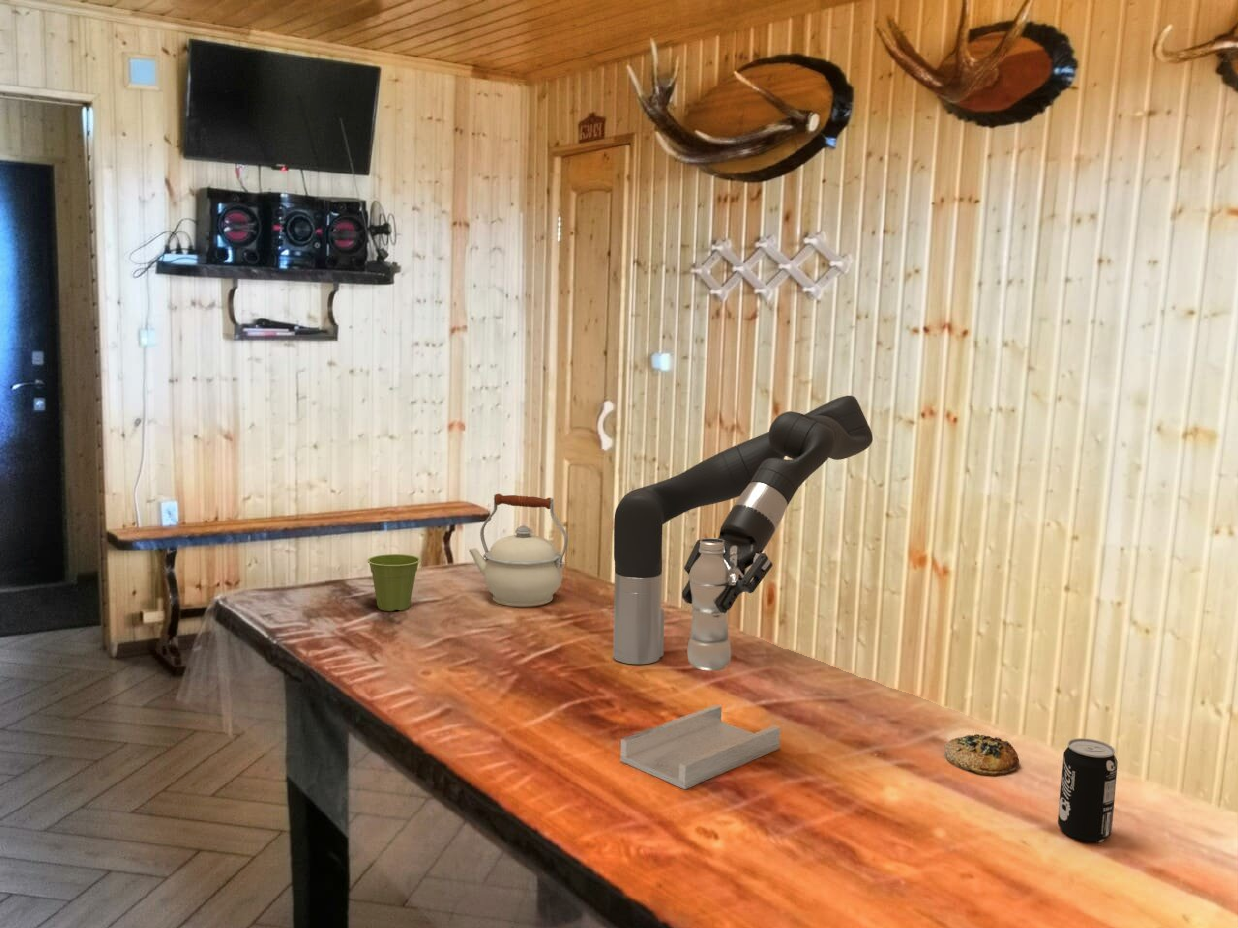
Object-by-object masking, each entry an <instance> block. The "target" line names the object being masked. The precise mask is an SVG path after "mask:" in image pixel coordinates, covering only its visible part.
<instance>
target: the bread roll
mask: <svg viewBox="0 0 1238 928" xmlns="http://www.w3.org/2000/svg"><path fill="white" fill-rule="evenodd" d="M943 757H945V759H946V760H947V761H949V763H950V764H952V765H953V766H955V767H957V768H958V769H962V770H966V771H973V772H975V773H977V774H979V775H980V774H981V775H983V776H1000V775H1001V776H1002V775H1006V774H1008V773H1011V772H1014V771H1016V769H1017V768H1018V767H1019V761H1020V759H1019V754H1018V752H1017V751H1016V749H1015V748H1014V747H1013V746H1012V744H1011V743H1010V742H1009V741H1008V740H1002V738H1000V737H998V736H995V737H992V736H990V735H985V734H977V733H976V734H968V735H965V736H961V737H955V738H952V739H951V740H949V741H948V742H946V743H945V745H944V754H943Z"/></svg>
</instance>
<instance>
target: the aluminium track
mask: <svg viewBox="0 0 1238 928" xmlns="http://www.w3.org/2000/svg"><path fill="white" fill-rule="evenodd" d="M722 708H723V707H722V706H721V705H718V704H714V705H711V706H709V707H705V708H703V709H700V710H697V711H695V712H692V713H690V714H686V715H684V716H680V717H678V718H675V719H672V720H670V721H667V722H665V723H662V724H659V725H656V726H654V727H651V728H648V729H644V730H642V731H640V732H637V733H634V734H630V735H629V736H626V737H623V738H620V759H619V760H620V762H621V763H624V764H625V765H628V766H631V767H632V768H635V769H637V770H639V771H641V772H644V773H646V774H649V775H650V776H654V777H656V778H658V779H660V780H662V781H665V782H667V783H668V784H669V783H670V784H671V785H674V786H676V787H678V788H680V789H682V790H687V789H690V788H691V787H694V786H696V785H699V784H701V783H704V782H706V781H707V780H708V781H709V780H710V779H713V778H714V777H717V776H720V775H722V774H724V773H727V772H729V771H732V770H734V769H736V768H737V767H740V766H742V765H744V764H747V763H750V762H752V761H754V760H756V759H758V758H761V757H763V756H765V755H768V754H770V753H772V752H775V751H778V750H779V749H780V740H781V739H780V738H781V727H780V726H777V725H774V724H773V725H771V726H768V727H766V728H763V729H762V730H759V731H757V732H751V731H749V730H747V729H743V728H741V727H739V726H735V725H732V724H729V723H728V722H725V721H722Z"/></svg>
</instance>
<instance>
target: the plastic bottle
mask: <svg viewBox="0 0 1238 928" xmlns="http://www.w3.org/2000/svg"><path fill="white" fill-rule="evenodd" d="M699 540H700V539H699ZM699 553H701V555H700V557H699V558H698V559H697V560H696V562H695V563H694V564H693V566H692V567H691V570H690V573H689V574H688V576H689V580H690V588H691V596H692V604H691V608H692V609H691V616H692V617H691V625H690V635H689V636H690V637H689V638H688V644H687V650H686V653H687V659H688V660H687V661H688V663H690V664H689V665H691V666H692V667H693V668H694V669H697V670H701V671H721V670H724V669H726V668H727V667H728V665H729V664H730V661H731V657H732V648H731V641H730V637H729V622H728V621H729V619H728V618H729V610H727V612H726V613H722V612H720V611H719V610H718V608H717V607H716V603H717V601H718V600H719V598H720V596H721V594H722V593H723V591H724V589H725V588H726V586H727V585H728V586H730V584H729V581H730V579H731V570H730V567H729V565H728V563H727V562H726V560H725V559H724V557H723V554H725V541H724V540H722V539H717V538H716V537H714V538H713V537H711V538H710V537H705V538H701V540H700V548H699ZM689 580H688V581H689Z"/></svg>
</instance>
